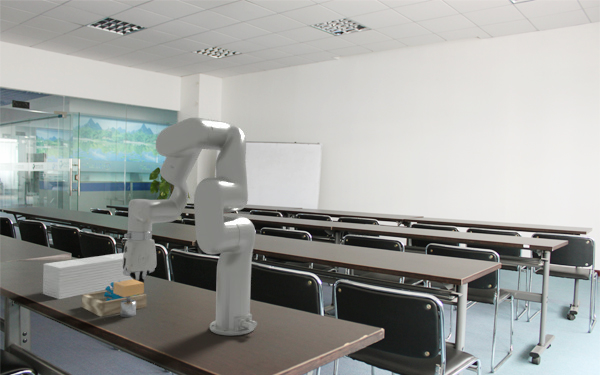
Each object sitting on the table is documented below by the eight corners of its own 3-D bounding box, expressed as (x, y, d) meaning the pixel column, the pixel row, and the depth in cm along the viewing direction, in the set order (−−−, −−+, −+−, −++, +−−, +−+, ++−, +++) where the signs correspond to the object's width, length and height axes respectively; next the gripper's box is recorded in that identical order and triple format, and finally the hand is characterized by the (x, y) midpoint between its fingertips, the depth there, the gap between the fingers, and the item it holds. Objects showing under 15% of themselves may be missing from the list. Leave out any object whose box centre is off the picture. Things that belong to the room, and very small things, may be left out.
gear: (105, 306, 139) (104, 279, 145) (100, 316, 142) (100, 289, 148) (141, 306, 145) (139, 280, 151) (136, 316, 148) (134, 290, 154)
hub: (143, 293, 137) (144, 282, 137) (123, 297, 132) (123, 286, 132) (133, 289, 141) (133, 279, 141) (113, 293, 136) (113, 282, 136)
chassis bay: (146, 307, 145) (146, 294, 145) (100, 316, 134) (100, 303, 134) (126, 298, 154) (126, 287, 154) (81, 307, 143) (81, 294, 143)
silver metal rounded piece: (138, 315, 137) (139, 294, 137) (124, 318, 134) (125, 296, 133) (131, 311, 140) (131, 291, 140) (117, 314, 136) (118, 293, 136)
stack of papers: (123, 278, 184) (124, 252, 184) (140, 282, 178) (140, 255, 178) (42, 294, 158) (43, 263, 157) (59, 299, 152) (59, 267, 151)
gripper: (123, 239, 142) (122, 297, 142) (166, 235, 153) (164, 289, 153) (112, 236, 147) (111, 292, 147) (154, 233, 158) (153, 285, 159)
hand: (138, 290), depth 150 cm, fingers closed
